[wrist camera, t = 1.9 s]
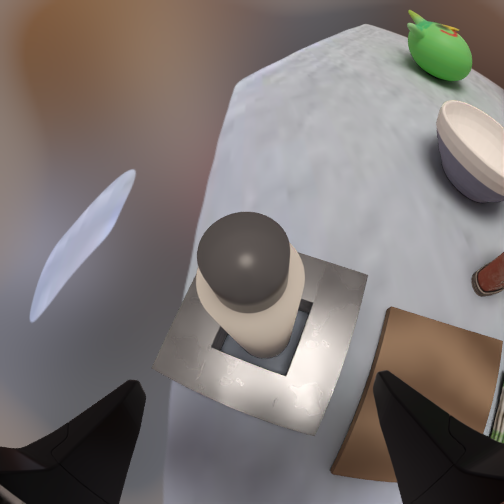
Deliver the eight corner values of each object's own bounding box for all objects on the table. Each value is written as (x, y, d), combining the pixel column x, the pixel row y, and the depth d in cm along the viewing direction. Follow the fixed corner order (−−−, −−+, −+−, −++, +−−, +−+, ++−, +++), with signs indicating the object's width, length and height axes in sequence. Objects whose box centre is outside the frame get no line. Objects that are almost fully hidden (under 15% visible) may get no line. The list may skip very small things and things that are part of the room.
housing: (309, 428, 17) (314, 436, 14) (167, 370, 20) (151, 368, 17) (357, 288, 21) (368, 275, 19) (226, 245, 24) (220, 228, 22)
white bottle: (279, 365, 19) (283, 337, 7) (231, 347, 20) (156, 286, 8) (297, 318, 21) (325, 216, 8) (250, 302, 22) (213, 186, 9)
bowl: (405, 135, 30) (420, 90, 23) (475, 145, 29) (492, 111, 22) (450, 225, 23) (485, 181, 16) (517, 222, 22) (546, 190, 16)
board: (458, 479, 11) (463, 481, 10) (329, 470, 15) (332, 474, 14) (496, 343, 17) (502, 340, 16) (386, 309, 20) (391, 306, 19)
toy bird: (468, 103, 35) (488, 49, 22) (398, 71, 40) (409, 12, 27) (456, 74, 42) (468, 31, 29) (398, 50, 46) (406, 4, 33)
